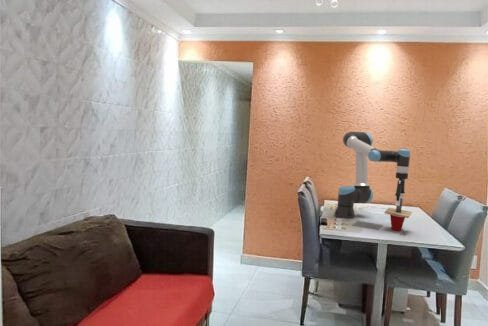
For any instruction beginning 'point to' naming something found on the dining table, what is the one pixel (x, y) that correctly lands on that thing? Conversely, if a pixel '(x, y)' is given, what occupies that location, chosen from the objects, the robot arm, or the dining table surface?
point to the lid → (398, 211)
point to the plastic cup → (396, 222)
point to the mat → (367, 225)
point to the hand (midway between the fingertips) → (399, 204)
